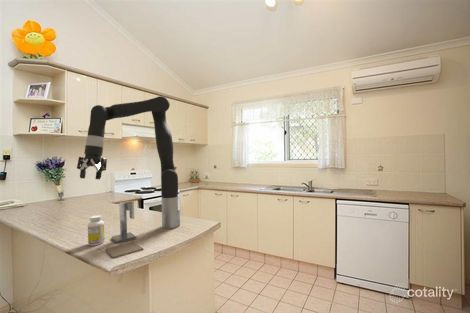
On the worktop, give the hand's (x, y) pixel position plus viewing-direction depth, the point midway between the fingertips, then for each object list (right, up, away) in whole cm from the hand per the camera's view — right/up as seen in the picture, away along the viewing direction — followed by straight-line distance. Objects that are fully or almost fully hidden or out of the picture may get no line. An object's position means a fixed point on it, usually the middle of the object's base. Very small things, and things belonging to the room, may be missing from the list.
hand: (90, 178), depth 110 cm
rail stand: (+17, -30, +1) cm, 35 cm away
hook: (+18, -19, -1) cm, 27 cm away
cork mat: (+22, -30, -10) cm, 39 cm away
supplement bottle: (+4, -31, -2) cm, 31 cm away
